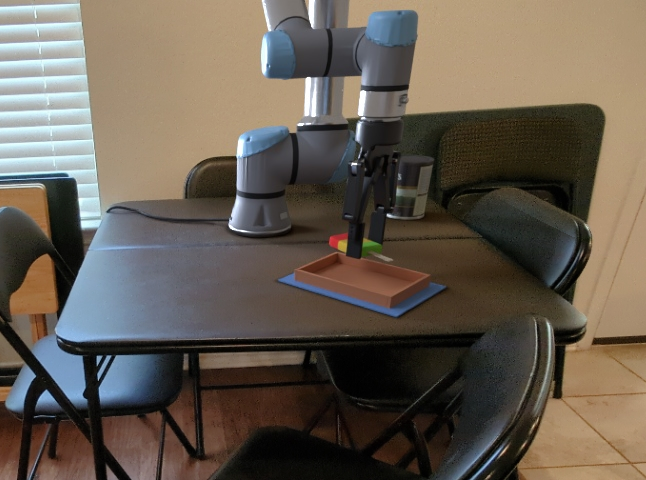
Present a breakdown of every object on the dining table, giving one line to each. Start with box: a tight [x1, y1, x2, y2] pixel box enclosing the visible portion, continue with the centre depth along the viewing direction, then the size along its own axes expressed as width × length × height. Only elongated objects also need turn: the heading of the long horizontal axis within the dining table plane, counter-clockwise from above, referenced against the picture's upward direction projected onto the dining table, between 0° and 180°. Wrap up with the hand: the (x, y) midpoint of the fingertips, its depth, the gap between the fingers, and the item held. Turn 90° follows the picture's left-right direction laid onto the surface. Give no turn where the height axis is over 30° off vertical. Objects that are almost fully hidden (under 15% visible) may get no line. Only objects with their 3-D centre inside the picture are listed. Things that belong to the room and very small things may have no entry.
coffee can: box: [386, 154, 435, 221], centre depth 149 cm, size 10×10×14 cm
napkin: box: [277, 272, 447, 318], centre depth 111 cm, size 25×18×1 cm
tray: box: [294, 251, 432, 309], centre depth 111 cm, size 20×14×2 cm
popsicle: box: [328, 232, 394, 263], centre depth 108 cm, size 6×15×2 cm, turn 23°
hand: (364, 252), depth 108 cm, fingers closed on popsicle, 6 cm apart
